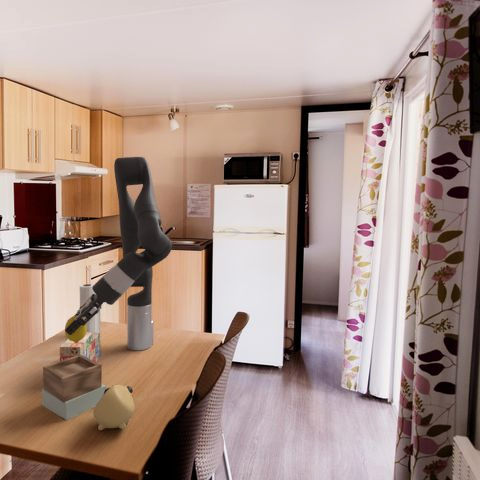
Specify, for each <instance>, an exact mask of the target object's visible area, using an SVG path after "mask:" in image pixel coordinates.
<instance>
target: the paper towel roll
mask: <svg viewBox="0 0 480 480" xmlns="http://www.w3.org/2000/svg"><path fill="white" fill-rule="evenodd" d="M93 285H94V284H92V283H85V284H84V283H83V284H80V285H79V308H80V307H81V306H82V305H83V304H84V303H85V302H86V301H87V300H88V298H89V297H90V296H92V294H94V293H95V292H94V291H93V289H92V287H93ZM85 318H86V317H84V318H83V319H85ZM101 324H102V323H101V309H100V310H99V312H98V313H97V314H96V315H95V316H94V317H92V318H91V319H90V320H89V321H88V322H87V323H86V326H87V331H86V332H100V333H101V332H102V331H101V326H102V325H101Z"/></svg>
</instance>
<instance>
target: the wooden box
mask: <svg viewBox="0 0 480 480" xmlns="http://www.w3.org/2000/svg"><path fill="white" fill-rule="evenodd" d="M42 370H43V371H42V372H43V373H42V375H43V377H42V381H43V383H42V384H43V389H44V390H46V391H47V392H49V393H50V394H52V395H53V396H55V397H56V398H58V399H59V400H60V401H62V402H63V403H64V402H66V401H69V400H71V399H74V398H76V397H79V396H81V395H84V394H86V393H88V392H91V391H93V390H96V389H98V388H101V387H102V384H103V383H102V382H103V381H102V378H103V377H102V364H100V363H99V362H94V361H92V360H90V359H88V358H86V357H84V356H82V355H78V356H75V357H72V358H68V359H65V360H62V361H60V360H59V361H56V362H52V363H50V364H47V365H43V366H42Z"/></svg>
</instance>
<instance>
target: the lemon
mask: <svg viewBox="0 0 480 480" xmlns="http://www.w3.org/2000/svg"><path fill="white" fill-rule="evenodd" d="M76 317H77V315H75V314H74V315H73V316H72V317H70V318H68V319H67V321H66V323H65V327H64V330H65V329H66V328H67V327H68V326H69V325H70V324H71V323H72V322H73V321H74V320H75V318H76ZM81 319H83V318H81ZM83 320H84V319H83ZM86 331H87V326H86V324H85V325H84V326H80V327H79V328H78V329H77V330H76V331H75V332H74V333H73V334H72V335H69V334H68V333H66V332H65V331H64V333H65V337H66V339H67V340H68V339H69V340H70V341H73V342H74V343H78V342H79V341H80V340H82V339H83V338H84V336H85V335H86Z"/></svg>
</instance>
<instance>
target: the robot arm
mask: <svg viewBox="0 0 480 480" xmlns="http://www.w3.org/2000/svg"><path fill="white" fill-rule="evenodd" d="M113 168H114V169H113V170H114V179H115V185H116V193H117V200H118V210H119V215H118V216H119V230H120V231H119V232H120V238H121V239H120V241H121V246H122V247H121V248H122V258H121V259H120V260H119V261H118V263H116V264H115V265H114V266H113V267H111V268H110V269H108V271H107V272H105V274H103V275H102V276H101V278H99V279H98V280H97V282H95V284H94V285H93V287H92V289H93V291H94V292H95V293H94V294H92V296H90V297H89V298H88V300H87V301H86V302H85V303H84V304H83V305H82V306H81V307H80V306H79V309H78V310H77V311H76V313H75V314H74V315H77V317H76V318H75V320H74V321H73V322H72V323H71V324H70V325H69V326H68V327H67V328H66V329H65V328H64V333H65V332H66V333H68V334H69V335H72V334H73V333H74V332H75V331H76V330H77V329H78V328H79V327H80V326H84V325H85V324H86V323H87V322H88V321H89V320H90V319H91V318H92V317H94V316H95V315H96V314H97V313H98V312H99V310H100V311H101V310H102V306H103V303H105V304H107V305H110V306H111V305H114V304H116V302H117V301H118V300H119V298H121V297H122V295H124V294H125V293H126V292H127V291H128V290H129V289H130V288H142V290H140V291H138V292H135V293H134V294H131V295H129V296H128V297H127V301H126V302H127V303H126V306H127V309H126V311H127V312H126V313H127V314H126V315H127V316H126V317H127V318H126V319H127V320H126V322H127V323H126V324H127V325H126V326H127V329H126V330H127V334H126V335H127V341H126V342H127V349H128V350H131V351H144V350H148V349H149V348H152V346H153V345H154V320H152V319H153V318H152V317H153V316H152V313H153V312H152V309H153V308H152V307H153V304H152V302H153V300H152V299H153V298H152V296H153V295H152V294H153V293H152V290H153V289H152V288H153V267H154V266H156V265H157V264H159V263H160V262H162V261H163V260H165V259H166V258H167V257H168V256H169V254H171V251H172V248H173V243H172V240H171V238H169V237H168V236H167V235H166V233H165V232H163V230H162V228H161V226H162V218H161V214H160V212H159V209H158V206H157V202H156V201H157V200H156V198H155V191H154V185H153V178H152V174H151V173H152V172H151V169H150V165H149V162H148V160H147V159H146V158H145V157H143V156H127V157H118V158H115V160H114V165H113ZM136 185H138V186H139V185H142V187H141V190H140V192H139V194H138V195H137V198H136V199H135V201H134V200H133V198H132V196H131V195H130V193H129V191H128V188H127V187H128V186H136ZM140 247H142V248H143V249H144V250H142V251H141V252H139V253H138V252H137V251H138V250H139V249H140ZM84 317H86V318H85V319H84V320H83V319H81V318H84Z"/></svg>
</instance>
